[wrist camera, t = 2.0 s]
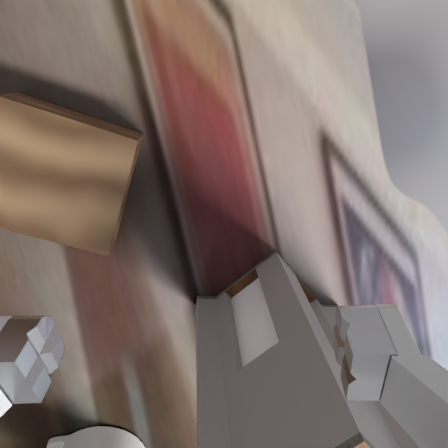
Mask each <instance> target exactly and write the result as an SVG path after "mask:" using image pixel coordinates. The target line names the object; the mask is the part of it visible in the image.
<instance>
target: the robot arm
mask: <svg viewBox="0 0 448 448" xmlns="http://www.w3.org/2000/svg"><path fill="white" fill-rule="evenodd" d="M335 319H336V323H337V325H336V326H335V327H334V328H333V346H334V352H335V357H336V361H337V363H338V364H339V365H340V366H342V367H341V375H340V378H341V381H342V385H343V389H344V393H345V397H346V400H362V401H380V403H381V404H382V405H383V407H384V408H385V409H386V410H387V411H388V412H389V413H390V414H391V415H392V417H393V418H394V419H395V420H396V421H397V422H398V423H399V424H400V426H401V427H402V428H403V429H404V430H405V431H406V432H407V433H408V435H409V436H410V437H411V438H412V439H413V440H414V441H415V442H416V444H417V445H418V446H419V447H420V448H448V371H447V370H446V369H445V368H443V367H442V366H441V365H439V364H438V363H437V362H435V361H434V360H433V359H431V358H430V357H429V356H427V355H421V354H420V352H419V350H418V348H417V346H416V344H415V342H414V340H413V338H412V336H411V333H410V331H409V329H408V327H407V325H406V323H405V321H404V319H403V317H402V315H401V313H400V311H399V309H398V307H397V306H396V305H395V304H382V305H355V306H337V307H336V310H335ZM54 326H55V323H54V321H53V319H52V318H51V316H0V417H1V416H2V415H3V414H4V413H5V412H6V411H7V410H8V409H9V408H10V407H11V406H12V404H23V403H41V402H42V400H43V398H44V396H45V394H46V392H47V390H48V388H49V386H50V384H51V382H52V379H51V375H50V374H51V373H52V372H53V371H54V370H55V369H57V368H58V367H59V365H60V363H61V361H62V358H63V353H64V342H63V339H62V337H61V334H59V333H58V332H56V331H55V330H53V328H54ZM46 448H145V447H144V445H143V443H142V442H141V441H140V440H139V439H138V438H137V437H136V436H134V435H133V434H131V433H129V432H127V431H125V430H122V429H119V428H114V427H106V426H97V427H90V428H85V429H82V430H79V431H77V432H75V433H73V434H70V435H67V436H58V437H53V438H51V439H49V441H48V444H47V447H46Z"/></svg>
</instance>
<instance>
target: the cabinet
mask: <svg viewBox="0 0 448 448" xmlns="http://www.w3.org/2000/svg"><path fill="white" fill-rule="evenodd" d="M337 306H338V305H330V304H320V303H319V301H318V300H317V299H316V298H315V297H314V295H313V294H312V293H311V292H310V291H309V290H308V288H307V287H306V286H305V285H304V284H303V282H302V281H301V280H300V279H299V278H298V276H297V275H296V274H295V273H294V272H293V270H292V269H291V268H290V267H289V266H288V264H287V263H286V262H285V261H284V260H283V259H282V257H281V256H280V255H279V254H278V253H277V251H276V250H275V251H274V252H273V253H272V254H270V255H269V256H268V257H266V258H265V259H264V260H263V261H261V262H260V263H259V264H257V265H256V266H255V267H253V268H252V269H251V270H250V271H248V272H247V273H246V274H244V275H243V276H242V277H240V278H239V279H238V280H237V281H235V282H234V283H233V284H231V285H230V286H229V287H227V288H226V289H225V290H224V291H222V292H221V293H220V294H218V295H217V296H216V297H210V296H197V300H196V360H197V448H420V447H419V446H418V445H417V444H416V442H415V441H414V440H413V439H412V438H411V437H410V436H409V435H408V433H407V432H406V431H405V430H404V429H403V428H402V427H401V426H400V424H399V423H398V422H397V421H396V420H395V419H394V418H393V417H392V415H391V414H390V413H389V412H388V411H387V410H386V409H385V408H384V407H383V405H382V404H381V403H380V401H362V400H346V397H345V393H344V389H343V385H342V381H341V378H340V375H341V367H342V366H340V365H339V364H338V363H337V361H336V357H335V352H334V346H333V328H334V327H335V326H336V325H337V323H336V319H335V310H336V307H337Z"/></svg>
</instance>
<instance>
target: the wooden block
mask: <svg viewBox="0 0 448 448" xmlns="http://www.w3.org/2000/svg"><path fill="white" fill-rule="evenodd" d="M143 135H144V133H141V132H137V131H134V130H131V129H128V128H125V127H122V126H119V125H116V124H113V123H110V122H107V121H104V120H101V119H98V118H95V117H92V116H89V115H86V114H82V113H79V112H76V111H73V110H70V109H67V108H64V107H61V106H58V105H55V104H52V103H49V102H46V101H43V100H40V99H37V98H34V97H31V96H28V95H24V94H21V93H18V92H14V93H5V94H0V228H1V229H5V230H9V231H13V232H17V233H21V234H25V235H28V236H32V237H36V238H40V239H44V240H48V241H52V242H56V243H60V244H63V245H67V246H71V247H75V248H79V249H83V250H87V251H91V252H95V253H98V254H102V255H106V256H108V255H109V253H110V251H111V249H112V247H113V244H114V242H115V240H116V238H117V234H118V230H119V226H120V223H121V219H122V215H123V211H124V207H125V203H126V200H127V196H128V192H129V188H130V184H131V180H132V177H133V173H134V169H135V165H136V161H137V157H138V154H139V150H140V146H141V142H142V138H143Z"/></svg>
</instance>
